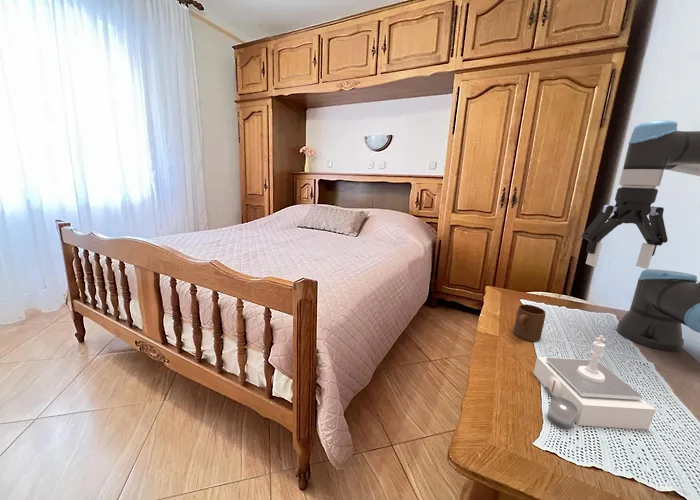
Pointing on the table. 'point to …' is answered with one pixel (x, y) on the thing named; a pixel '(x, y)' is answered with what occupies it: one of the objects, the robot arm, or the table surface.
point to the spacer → (562, 412)
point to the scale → (595, 403)
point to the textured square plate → (585, 387)
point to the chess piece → (594, 363)
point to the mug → (529, 322)
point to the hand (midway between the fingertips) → (616, 266)
